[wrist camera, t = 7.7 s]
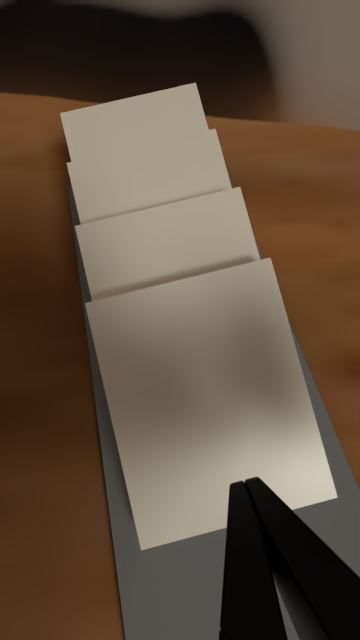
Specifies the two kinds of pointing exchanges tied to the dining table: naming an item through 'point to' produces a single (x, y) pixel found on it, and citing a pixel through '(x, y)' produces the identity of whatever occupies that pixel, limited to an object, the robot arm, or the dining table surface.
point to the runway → (209, 548)
